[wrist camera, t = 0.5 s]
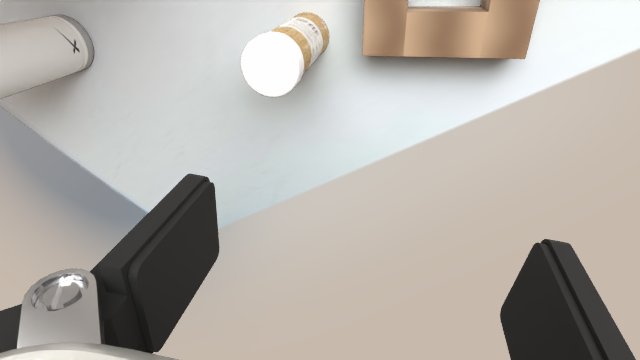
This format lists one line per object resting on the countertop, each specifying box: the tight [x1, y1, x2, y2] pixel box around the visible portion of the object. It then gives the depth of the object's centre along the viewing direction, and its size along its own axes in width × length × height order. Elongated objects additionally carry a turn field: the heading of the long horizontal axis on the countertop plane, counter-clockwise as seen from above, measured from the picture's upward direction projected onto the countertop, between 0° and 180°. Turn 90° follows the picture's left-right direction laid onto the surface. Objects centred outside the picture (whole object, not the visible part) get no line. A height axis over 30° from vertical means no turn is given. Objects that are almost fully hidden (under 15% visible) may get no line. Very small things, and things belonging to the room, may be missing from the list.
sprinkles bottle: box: [241, 13, 329, 97], centre depth 33 cm, size 5×5×13 cm
